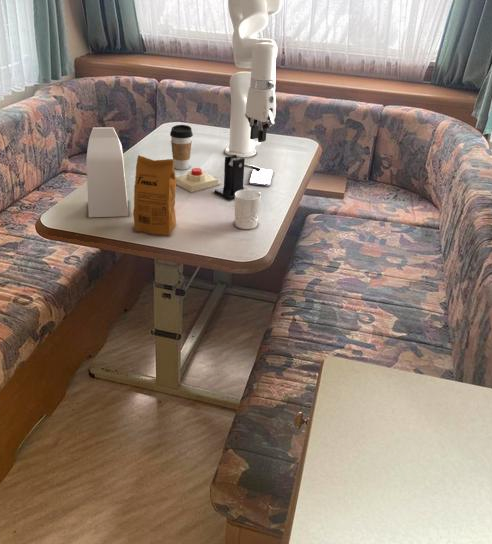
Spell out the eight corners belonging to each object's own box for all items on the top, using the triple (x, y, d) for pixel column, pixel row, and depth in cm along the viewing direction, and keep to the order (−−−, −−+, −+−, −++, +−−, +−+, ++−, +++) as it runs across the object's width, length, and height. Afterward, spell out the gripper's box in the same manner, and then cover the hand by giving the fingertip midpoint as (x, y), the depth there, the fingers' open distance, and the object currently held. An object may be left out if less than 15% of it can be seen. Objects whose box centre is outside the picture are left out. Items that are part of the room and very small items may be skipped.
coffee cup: (193, 163, 221) (194, 125, 214) (190, 171, 214) (191, 131, 207) (172, 162, 222) (172, 123, 214) (168, 170, 215) (168, 130, 207)
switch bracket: (236, 186, 203) (238, 151, 196) (251, 194, 197) (254, 158, 191) (214, 193, 197) (215, 157, 191) (229, 200, 192) (231, 163, 185)
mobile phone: (248, 181, 204) (253, 167, 217) (248, 184, 205) (253, 170, 217) (269, 183, 203) (273, 169, 216) (269, 186, 204) (273, 171, 217)
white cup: (231, 219, 179) (233, 189, 174) (256, 219, 180) (259, 189, 175) (234, 230, 172) (236, 199, 167) (260, 230, 173) (263, 199, 168)
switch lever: (249, 169, 201) (251, 162, 201) (259, 173, 198) (261, 166, 197) (225, 163, 193) (227, 156, 192) (235, 167, 189) (237, 160, 189)
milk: (88, 217, 177) (81, 134, 164) (90, 202, 186) (83, 122, 173) (128, 216, 178) (124, 133, 165) (127, 201, 188) (123, 122, 175)
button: (197, 171, 204) (197, 167, 203) (203, 174, 202) (203, 170, 201) (189, 173, 202) (189, 169, 201) (195, 177, 200) (195, 172, 199)
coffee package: (141, 218, 177) (139, 149, 166) (180, 224, 175) (180, 154, 164) (129, 232, 169) (125, 160, 158) (169, 238, 166) (168, 165, 155)
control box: (200, 176, 210) (201, 165, 208) (218, 184, 204) (218, 174, 202) (174, 183, 203) (174, 172, 201) (191, 192, 197) (191, 181, 195)
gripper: (288, 87, 182) (282, 144, 191) (253, 78, 193) (249, 132, 202) (271, 90, 178) (266, 148, 187) (236, 80, 188) (233, 135, 198)
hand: (257, 139), depth 194 cm, fingers open, 3 cm apart
